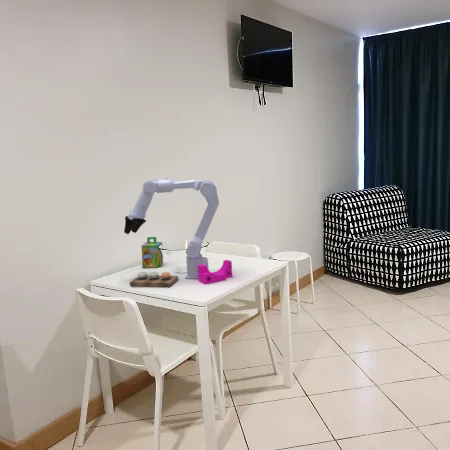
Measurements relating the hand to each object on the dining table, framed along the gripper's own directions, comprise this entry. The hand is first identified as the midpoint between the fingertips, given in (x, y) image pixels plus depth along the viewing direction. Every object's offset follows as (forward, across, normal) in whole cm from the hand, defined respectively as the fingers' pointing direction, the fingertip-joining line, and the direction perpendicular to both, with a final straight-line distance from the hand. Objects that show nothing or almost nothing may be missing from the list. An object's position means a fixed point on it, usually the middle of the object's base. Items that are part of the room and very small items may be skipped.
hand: (129, 232), depth 199 cm
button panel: (+14, +4, +21) cm, 26 cm away
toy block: (+1, -3, +45) cm, 45 cm away
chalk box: (+17, -26, +9) cm, 33 cm away
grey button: (+14, +4, +15) cm, 21 cm away
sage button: (+11, +4, +20) cm, 23 cm away
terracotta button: (+9, +4, +25) cm, 27 cm away
